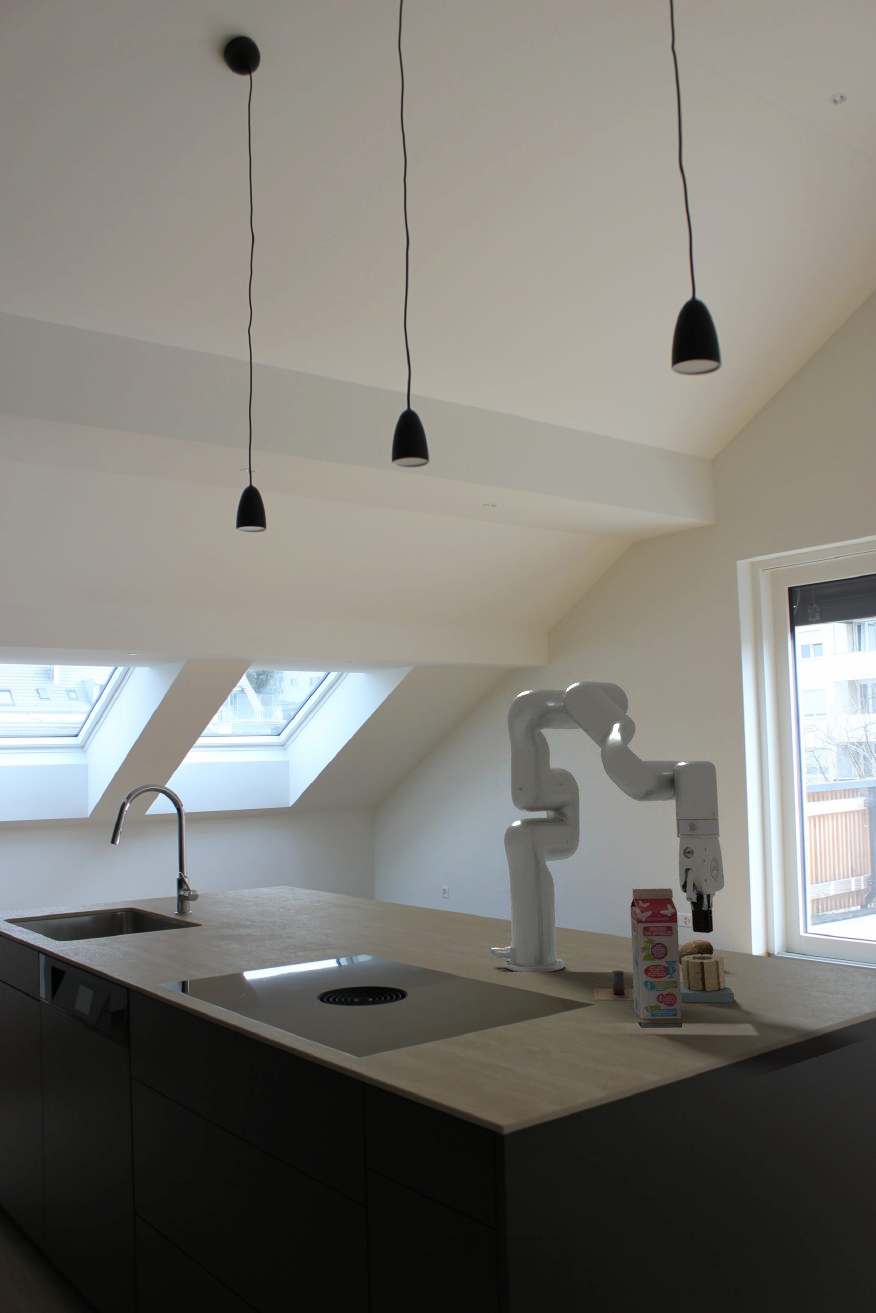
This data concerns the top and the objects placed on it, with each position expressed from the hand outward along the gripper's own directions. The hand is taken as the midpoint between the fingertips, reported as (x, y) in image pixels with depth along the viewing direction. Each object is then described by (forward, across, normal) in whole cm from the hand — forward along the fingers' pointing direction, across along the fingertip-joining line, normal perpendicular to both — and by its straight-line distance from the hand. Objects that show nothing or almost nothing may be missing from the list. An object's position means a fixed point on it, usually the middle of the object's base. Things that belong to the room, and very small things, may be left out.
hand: (703, 931), depth 182 cm
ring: (+10, 0, 0) cm, 10 cm away
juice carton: (+13, -16, +2) cm, 21 cm away
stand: (+13, -7, +14) cm, 20 cm away
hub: (+13, 0, 0) cm, 13 cm away
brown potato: (+13, +30, +14) cm, 36 cm away
